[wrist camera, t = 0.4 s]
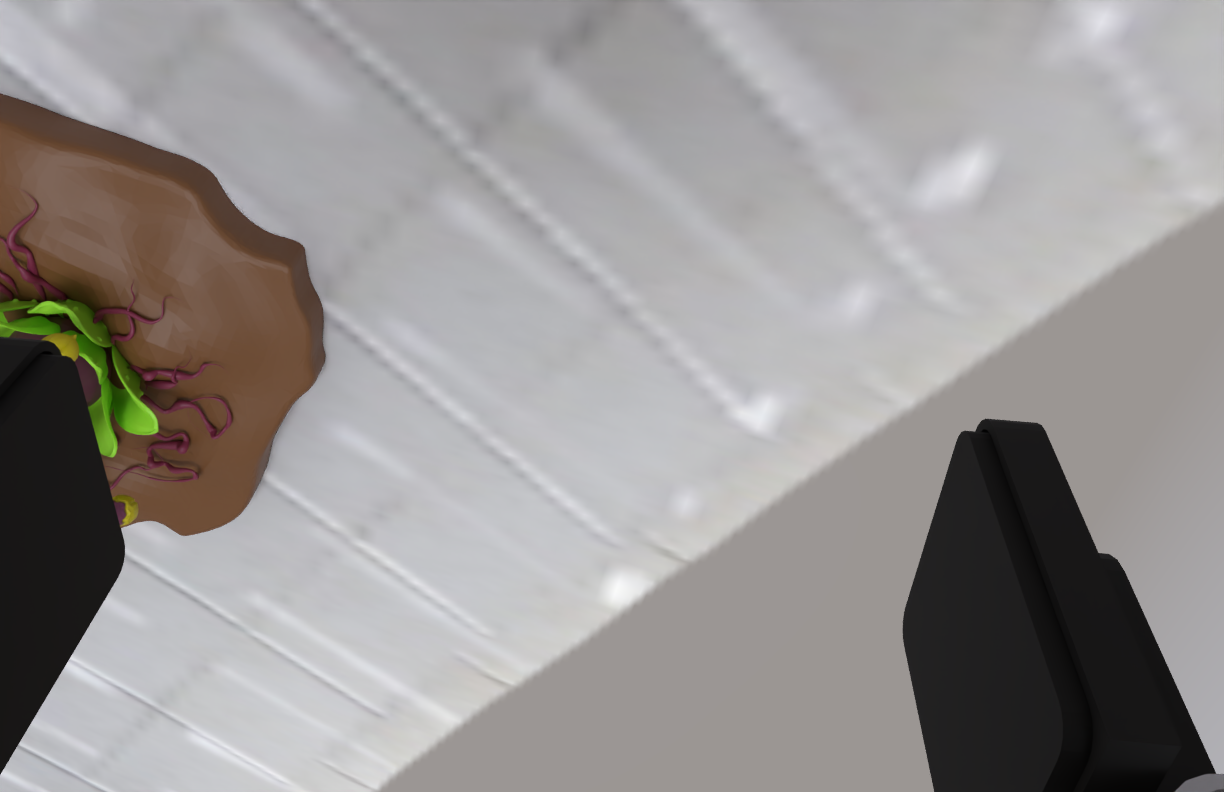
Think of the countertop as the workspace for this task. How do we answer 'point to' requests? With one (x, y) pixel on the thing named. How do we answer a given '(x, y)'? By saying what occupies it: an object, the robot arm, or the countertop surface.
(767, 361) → the countertop surface
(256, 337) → the plant
